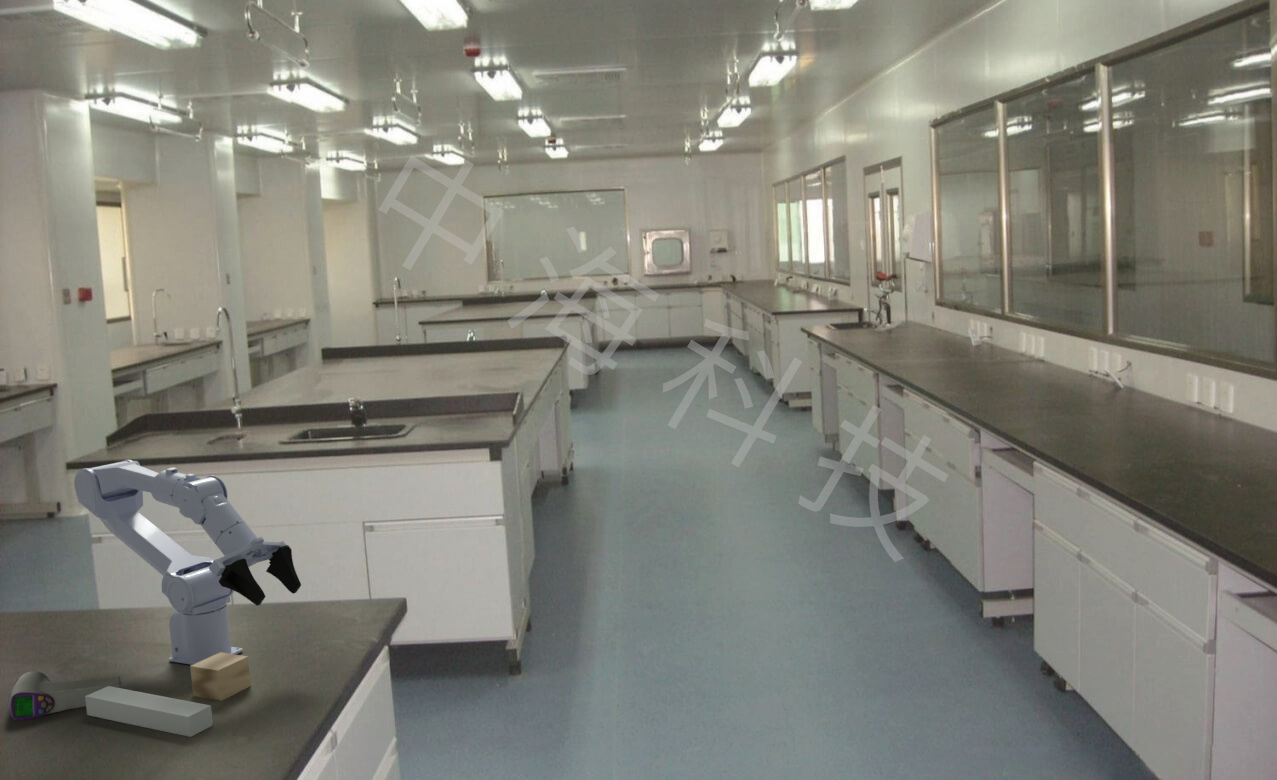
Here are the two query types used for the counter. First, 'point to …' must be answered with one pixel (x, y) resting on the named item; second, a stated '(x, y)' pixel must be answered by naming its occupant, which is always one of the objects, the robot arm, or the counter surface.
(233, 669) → the block
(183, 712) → the board
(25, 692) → the infrared thermometer
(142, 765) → the counter surface
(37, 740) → the counter surface
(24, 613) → the counter surface
